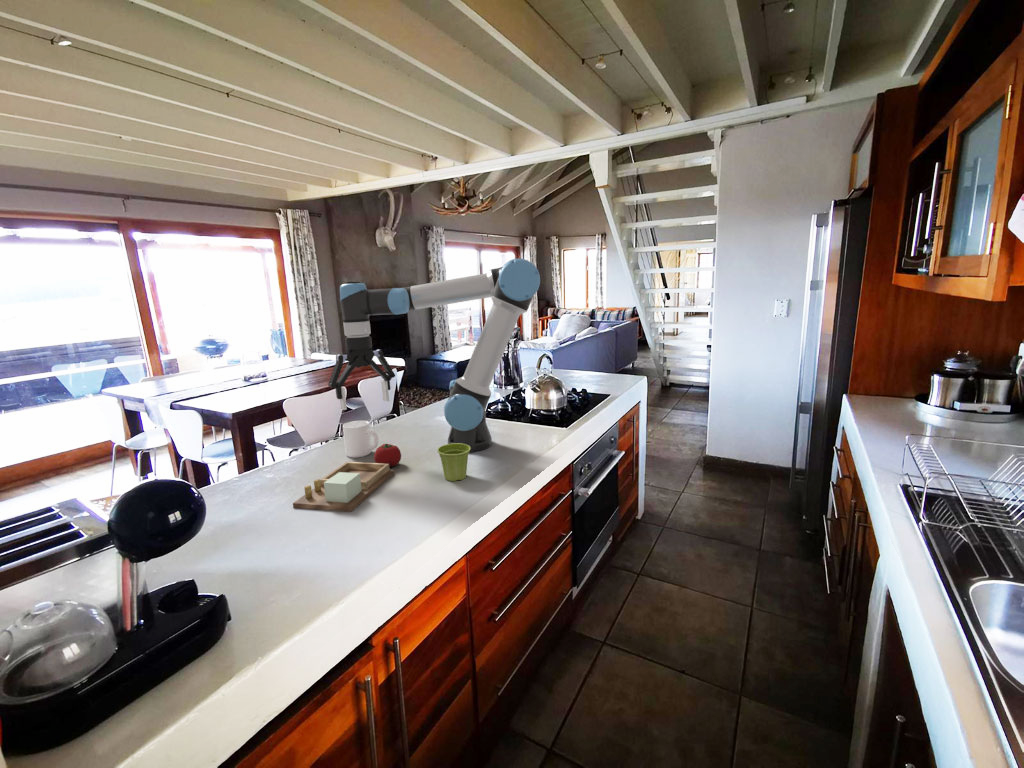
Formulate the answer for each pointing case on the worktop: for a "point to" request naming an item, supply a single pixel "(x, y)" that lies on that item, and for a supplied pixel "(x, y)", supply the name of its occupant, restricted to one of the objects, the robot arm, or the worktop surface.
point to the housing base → (370, 481)
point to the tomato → (387, 455)
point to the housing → (342, 487)
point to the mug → (358, 438)
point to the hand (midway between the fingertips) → (365, 404)
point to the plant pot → (454, 460)
